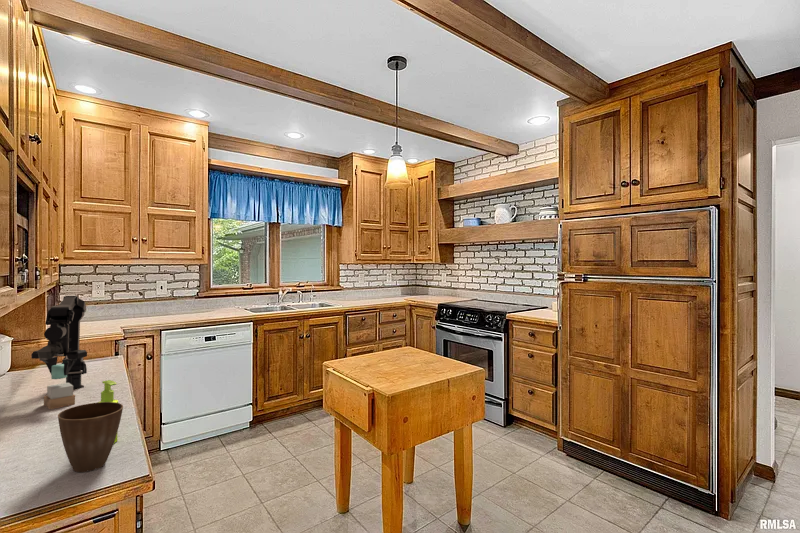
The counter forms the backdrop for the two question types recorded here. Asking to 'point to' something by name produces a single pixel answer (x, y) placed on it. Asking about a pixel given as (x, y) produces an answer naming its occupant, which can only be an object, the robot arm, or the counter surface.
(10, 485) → the counter surface
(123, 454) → the counter surface
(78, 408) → the plant pot
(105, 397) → the soap dispenser
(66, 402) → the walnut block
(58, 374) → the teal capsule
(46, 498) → the counter surface
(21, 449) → the counter surface
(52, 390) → the light grey block
